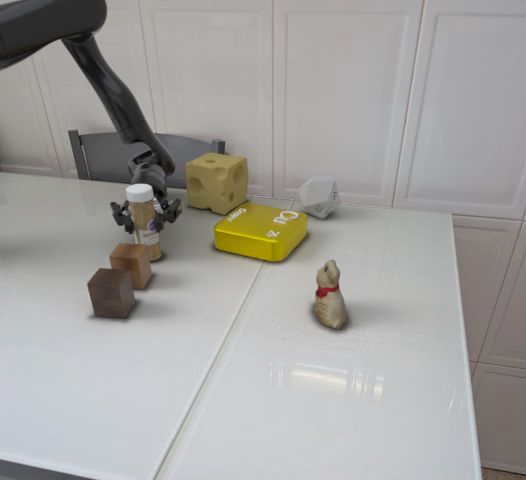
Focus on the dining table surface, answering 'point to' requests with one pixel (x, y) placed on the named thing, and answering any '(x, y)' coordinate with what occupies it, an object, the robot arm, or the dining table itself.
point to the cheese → (217, 182)
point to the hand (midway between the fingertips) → (143, 228)
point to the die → (319, 196)
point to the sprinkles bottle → (144, 218)
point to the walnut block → (111, 293)
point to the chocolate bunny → (329, 296)
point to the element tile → (260, 231)
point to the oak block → (133, 262)
